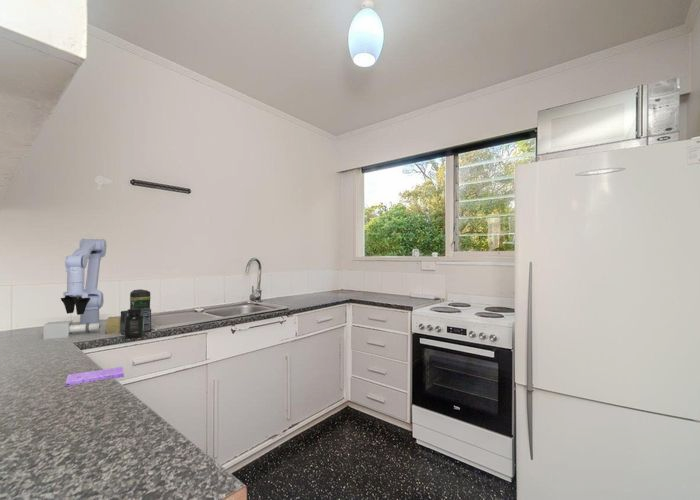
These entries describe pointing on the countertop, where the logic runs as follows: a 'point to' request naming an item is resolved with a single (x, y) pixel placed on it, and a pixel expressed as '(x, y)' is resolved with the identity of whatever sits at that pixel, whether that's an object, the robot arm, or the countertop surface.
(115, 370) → the sponges
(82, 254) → the robot arm
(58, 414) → the countertop surface
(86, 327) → the tube
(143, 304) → the coffee jar
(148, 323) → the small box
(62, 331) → the light grey block
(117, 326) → the socket
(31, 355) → the countertop surface
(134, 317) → the supplement bottle
